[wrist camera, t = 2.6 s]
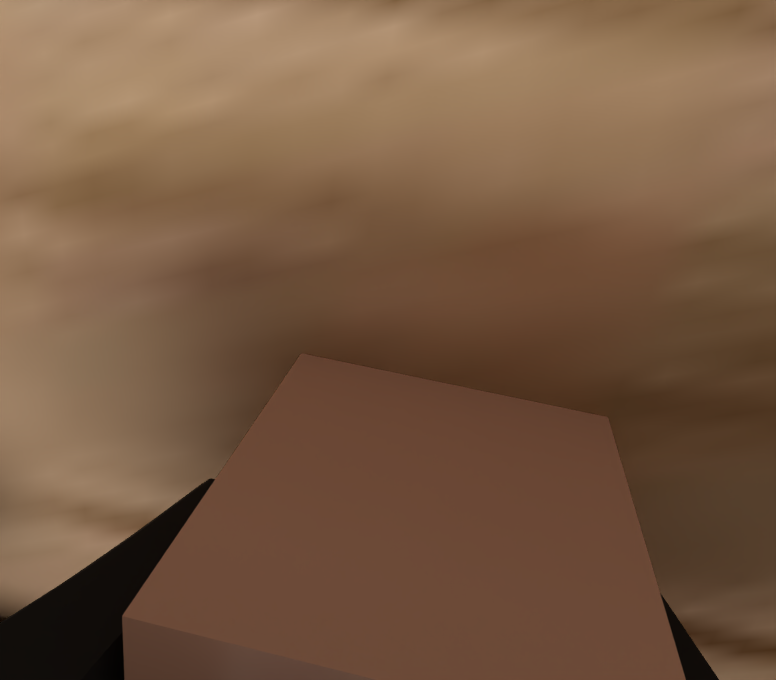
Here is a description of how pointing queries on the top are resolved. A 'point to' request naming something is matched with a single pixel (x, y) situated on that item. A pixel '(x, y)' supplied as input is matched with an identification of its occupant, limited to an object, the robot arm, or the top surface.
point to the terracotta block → (407, 545)
